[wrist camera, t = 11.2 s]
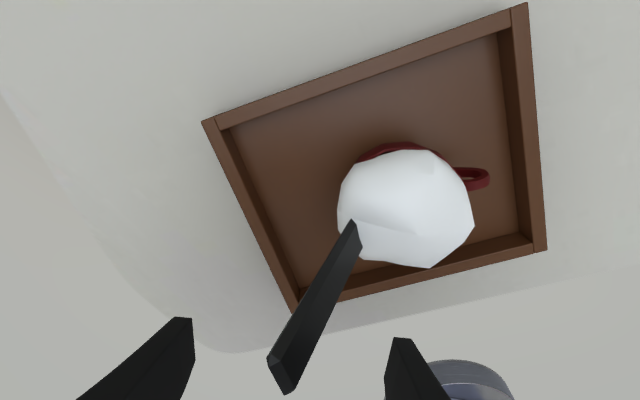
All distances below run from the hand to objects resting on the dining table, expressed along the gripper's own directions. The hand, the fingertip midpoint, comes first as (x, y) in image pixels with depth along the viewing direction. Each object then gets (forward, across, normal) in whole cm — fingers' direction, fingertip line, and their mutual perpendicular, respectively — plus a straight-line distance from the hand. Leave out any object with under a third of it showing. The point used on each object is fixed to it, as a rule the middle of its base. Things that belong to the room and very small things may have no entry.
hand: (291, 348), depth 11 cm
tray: (+10, -4, -3) cm, 12 cm away
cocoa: (+10, -4, -3) cm, 11 cm away
